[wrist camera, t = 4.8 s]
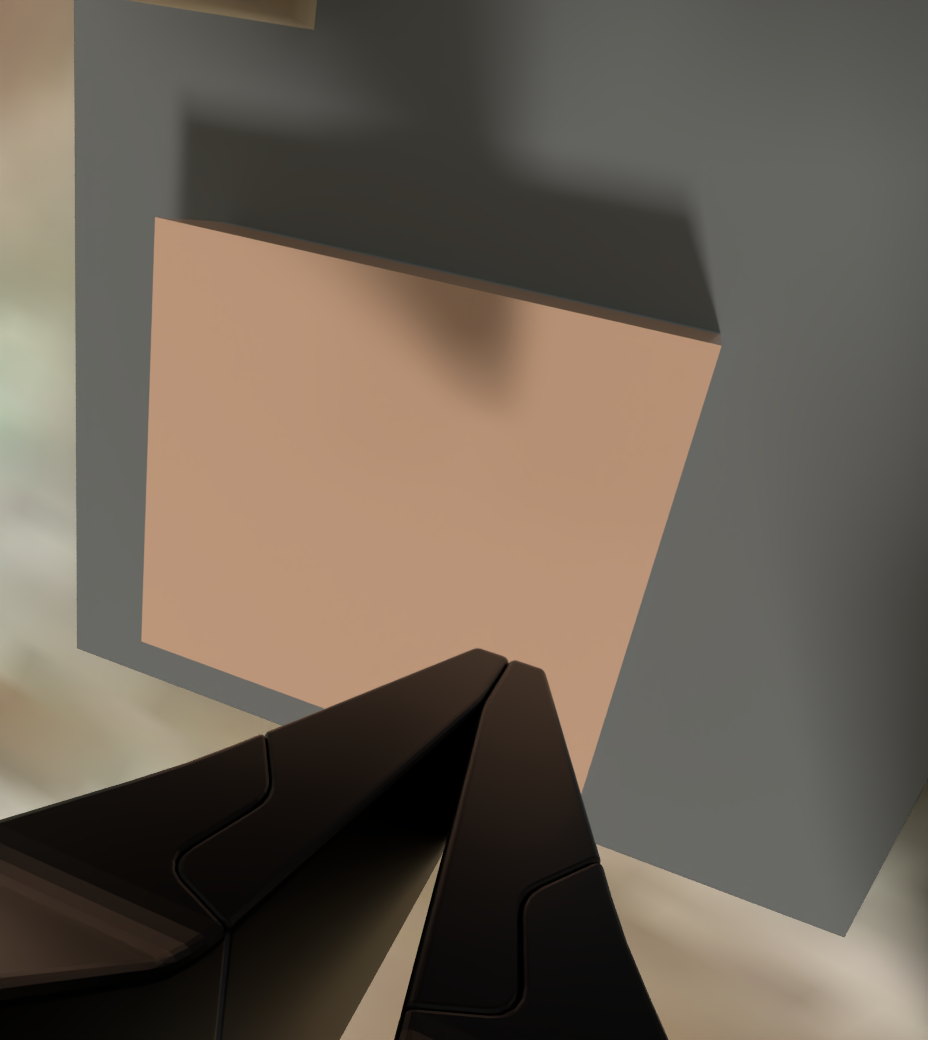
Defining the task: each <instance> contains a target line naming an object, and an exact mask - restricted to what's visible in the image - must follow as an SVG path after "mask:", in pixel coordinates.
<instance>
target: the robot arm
mask: <svg viewBox="0 0 928 1040" xmlns="http://www.w3.org/2000/svg"><path fill="white" fill-rule="evenodd" d="M442 853H443V855H442ZM441 855H442V859H441V862H440V866H439V870H438V874H437V878H436V882H435V885H434V889H433V893H432V897H431V901H430V905H429V908H428V912H427V916H426V920H425V924H424V928H423V931H422V935H421V939H420V943H419V947H418V951H417V954H416V958H415V962H414V966H413V970H412V974H411V977H410V981H409V985H408V989H407V993H406V997H405V1000H404V1004H403V1008H402V1012H401V1017H400V1020H399V1023H398V1027H397V1031H396V1035H395V1039H394V1040H668V1037H667V1035H666V1033H665V1031H664V1028H663V1026H662V1024H661V1022H660V1019H659V1017H658V1015H657V1013H656V1010H655V1008H654V1006H653V1004H652V1001H651V999H650V997H649V995H648V992H647V990H646V987H645V985H644V983H643V980H642V978H641V975H640V973H639V970H638V968H637V966H636V963H635V961H634V958H633V956H632V954H631V951H630V949H629V946H628V944H627V941H626V938H625V935H624V932H623V929H622V926H621V923H620V920H619V918H618V915H617V912H616V909H615V906H614V903H613V900H612V897H611V893H610V890H609V886H608V883H607V880H606V876H605V873H604V869H603V867H602V865H601V864H600V857H599V854H598V850H597V847H596V843H595V840H594V837H593V833H592V830H591V826H590V823H589V820H588V816H587V813H586V809H585V806H584V802H583V799H582V796H581V792H580V789H579V785H578V782H577V779H576V775H575V772H574V768H573V765H572V762H571V758H570V755H569V751H568V748H567V745H566V741H565V738H564V734H563V731H562V728H561V724H560V721H559V717H558V714H557V711H556V707H555V704H554V700H553V697H552V694H551V690H550V687H549V683H548V680H547V677H546V674H545V672H544V670H543V669H541V668H538V667H535V666H532V665H529V664H526V663H523V662H520V661H517V660H513V661H511V662H510V663H509V662H508V659H507V658H506V657H504V656H502V655H499V654H496V653H493V652H490V651H487V650H484V649H481V648H475V649H472V650H469V651H467V652H464V653H462V654H459V655H457V656H454V657H452V658H449V659H447V660H444V661H442V662H439V663H437V664H434V665H432V666H430V667H427V668H425V669H422V670H420V671H417V672H415V673H412V674H410V675H407V676H405V677H402V678H400V679H397V680H395V681H392V682H390V683H387V684H385V685H382V686H380V687H377V688H375V689H372V690H370V691H368V692H365V693H363V694H360V695H358V696H355V697H353V698H350V699H348V700H345V701H343V702H340V703H338V704H335V705H333V706H330V707H328V708H325V709H323V710H320V711H318V712H315V713H313V714H310V715H308V716H306V717H303V718H301V719H298V720H296V721H293V722H291V723H288V724H286V725H283V726H281V727H278V728H276V729H273V730H271V731H268V732H267V733H266V734H265V736H264V735H258V736H255V737H253V738H250V739H248V740H245V741H243V742H240V743H238V744H235V745H233V746H230V747H228V748H225V749H222V750H220V751H217V752H214V753H212V754H209V755H206V756H203V757H201V758H198V759H195V760H193V761H190V762H187V763H185V764H181V765H178V766H175V767H172V768H169V769H166V770H163V771H160V772H157V773H154V774H150V775H147V776H144V777H141V778H138V779H135V780H132V781H129V782H125V783H122V784H119V785H115V786H112V787H109V788H105V789H102V790H98V791H95V792H92V793H88V794H85V795H82V796H78V797H75V798H72V799H68V800H65V801H62V802H58V803H55V804H52V805H48V806H45V807H42V808H38V809H35V810H32V811H28V812H25V813H22V814H18V815H15V816H12V817H8V818H5V819H2V820H0V1040H340V1038H341V1036H342V1034H343V1033H344V1031H345V1029H346V1027H347V1025H348V1024H349V1022H350V1020H351V1018H352V1016H353V1014H354V1013H355V1011H356V1009H357V1007H358V1005H359V1004H360V1002H361V1000H362V998H363V996H364V995H365V993H366V991H367V989H368V987H369V986H370V984H371V982H372V980H373V978H374V977H375V975H376V973H377V971H378V969H379V967H380V966H381V964H382V962H383V960H384V958H385V957H386V955H387V953H388V951H389V949H390V948H391V946H392V944H393V942H394V940H395V939H396V937H397V935H398V933H399V931H400V930H401V928H402V926H403V924H404V922H405V920H406V919H407V917H408V915H409V913H410V911H411V910H412V908H413V906H414V904H415V902H416V901H417V899H418V897H419V895H420V893H421V892H422V890H423V888H424V886H425V884H426V883H427V881H428V879H429V877H430V875H431V873H432V872H433V870H434V868H435V866H436V864H437V863H438V861H439V859H440V857H441Z"/></svg>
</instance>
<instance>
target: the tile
mask: <svg viewBox="0 0 928 1040" xmlns="http://www.w3.org/2000/svg"><path fill="white" fill-rule="evenodd" d="M721 346H722V344H721V334H720V332H715V331H711V330H706V329H702V328H697V327H693V326H688V325H684V324H679V323H675V322H670V321H666V320H661V319H657V318H653V317H648V316H644V315H639V314H635V313H630V312H626V311H621V310H617V309H612V308H608V307H603V306H599V305H594V304H590V303H586V302H581V301H577V300H572V299H568V298H563V297H559V296H554V295H550V294H545V293H541V292H536V291H532V290H527V289H523V288H518V287H514V286H510V285H505V284H501V283H496V282H492V281H487V280H483V279H478V278H474V277H469V276H465V275H460V274H456V273H451V272H447V271H442V270H438V269H434V268H429V267H425V266H420V265H416V264H411V263H407V262H402V261H398V260H393V259H389V258H384V257H380V256H375V255H371V254H367V253H362V252H358V251H353V250H349V249H344V248H340V247H335V246H331V245H326V244H322V243H317V242H313V241H308V240H304V239H299V238H295V237H291V236H286V235H282V234H277V233H273V232H268V231H264V230H259V229H255V228H250V227H246V226H241V225H237V224H232V223H228V222H217V221H203V220H190V219H176V218H163V217H155V234H154V265H153V296H152V327H151V358H150V389H149V420H148V451H147V482H146V513H145V544H144V575H143V606H142V637H141V641H142V642H144V643H147V644H150V645H153V646H155V647H158V648H161V649H164V650H166V651H169V652H172V653H174V654H177V655H180V656H183V657H185V658H188V659H191V660H194V661H196V662H199V663H202V664H204V665H207V666H210V667H213V668H215V669H218V670H221V671H224V672H226V673H229V674H232V675H234V676H237V677H240V678H243V679H245V680H248V681H251V682H254V683H256V684H259V685H262V686H264V687H267V688H270V689H273V690H275V691H278V692H281V693H284V694H286V695H289V696H292V697H294V698H297V699H300V700H303V701H305V702H308V703H311V704H314V705H316V706H319V707H322V708H324V709H325V708H328V707H330V706H333V705H335V704H338V703H340V702H343V701H345V700H348V699H350V698H353V697H355V696H358V695H360V694H363V693H365V692H368V691H370V690H372V689H375V688H377V687H380V686H382V685H385V684H387V683H390V682H392V681H395V680H397V679H400V678H402V677H405V676H407V675H410V674H412V673H415V672H417V671H420V670H422V669H425V668H427V667H430V666H432V665H434V664H437V663H439V662H442V661H444V660H447V659H449V658H452V657H454V656H457V655H459V654H462V653H464V652H467V651H469V650H472V649H475V648H481V649H484V650H487V651H490V652H493V653H496V654H499V655H502V656H504V657H506V658H507V659H508V662H509V663H510V662H511V661H513V660H517V661H520V662H523V663H526V664H529V665H532V666H535V667H538V668H541V669H543V670H544V672H545V674H546V677H547V680H548V683H549V687H550V690H551V694H552V697H553V700H554V704H555V707H556V711H557V714H558V717H559V721H560V724H561V728H562V731H563V734H564V738H565V741H566V745H567V748H568V751H569V755H570V758H571V762H572V765H573V768H574V772H575V775H576V779H577V782H578V785H579V789H580V792H581V794H582V790H583V787H584V784H585V781H586V778H587V774H588V771H589V768H590V765H591V762H592V758H593V755H594V752H595V749H596V746H597V742H598V739H599V736H600V733H601V730H602V726H603V723H604V720H605V717H606V714H607V710H608V707H609V704H610V701H611V698H612V694H613V691H614V688H615V685H616V682H617V679H618V675H619V672H620V669H621V666H622V663H623V659H624V656H625V653H626V650H627V647H628V643H629V640H630V637H631V634H632V631H633V627H634V624H635V621H636V618H637V615H638V611H639V608H640V605H641V602H642V599H643V595H644V592H645V589H646V586H647V583H648V579H649V576H650V573H651V570H652V567H653V563H654V560H655V557H656V554H657V551H658V548H659V544H660V541H661V538H662V535H663V532H664V528H665V525H666V522H667V519H668V516H669V512H670V509H671V506H672V503H673V500H674V496H675V493H676V490H677V487H678V484H679V480H680V477H681V474H682V471H683V468H684V464H685V461H686V458H687V455H688V452H689V448H690V445H691V442H692V439H693V436H694V433H695V429H696V426H697V423H698V420H699V417H700V413H701V410H702V407H703V404H704V401H705V397H706V394H707V391H708V388H709V385H710V381H711V378H712V375H713V372H714V369H715V365H716V362H717V359H718V356H719V353H720V349H721Z"/></svg>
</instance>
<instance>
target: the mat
mask: <svg viewBox="0 0 928 1040" xmlns="http://www.w3.org/2000/svg"><path fill="white" fill-rule="evenodd" d="M74 83H75V296H76V508H77V648H78V649H81V650H83V651H86V652H88V653H91V654H94V655H96V656H99V657H102V658H104V659H107V660H110V661H112V662H115V663H118V664H120V665H123V666H126V667H128V668H131V669H134V670H136V671H139V672H142V673H144V674H147V675H150V676H152V677H155V678H157V679H160V680H163V681H165V682H168V683H171V684H173V685H176V686H179V687H181V688H184V689H187V690H189V691H192V692H195V693H197V694H200V695H203V696H205V697H208V698H211V699H213V700H216V701H218V702H221V703H224V704H226V705H229V706H232V707H234V708H237V709H240V710H242V711H245V712H248V713H250V714H253V715H256V716H258V717H261V718H264V719H266V720H269V721H272V722H274V723H277V724H280V725H282V726H283V725H286V724H288V723H291V722H293V721H296V720H298V719H301V718H303V717H306V716H308V715H310V714H313V713H315V712H318V711H320V710H323V709H324V708H322V707H319V706H316V705H314V704H311V703H308V702H305V701H303V700H300V699H297V698H294V697H292V696H289V695H286V694H284V693H281V692H278V691H275V690H273V689H270V688H267V687H264V686H262V685H259V684H256V683H254V682H251V681H248V680H245V679H243V678H240V677H237V676H234V675H232V674H229V673H226V672H224V671H221V670H218V669H215V668H213V667H210V666H207V665H204V664H202V663H199V662H196V661H194V660H191V659H188V658H185V657H183V656H180V655H177V654H174V653H172V652H169V651H166V650H164V649H161V648H158V647H155V646H153V645H150V644H147V643H144V642H142V641H141V637H142V606H143V575H144V544H145V513H146V482H147V451H148V420H149V389H150V358H151V327H152V296H153V265H154V234H155V217H163V218H176V219H190V220H203V221H217V222H228V223H232V224H237V225H241V226H246V227H250V228H255V229H259V230H264V231H268V232H273V233H277V234H282V235H286V236H291V237H295V238H299V239H304V240H308V241H313V242H317V243H322V244H326V245H331V246H335V247H340V248H344V249H349V250H353V251H358V252H362V253H367V254H371V255H375V256H380V257H384V258H389V259H393V260H398V261H402V262H407V263H411V264H416V265H420V266H425V267H429V268H434V269H438V270H442V271H447V272H451V273H456V274H460V275H465V276H469V277H474V278H478V279H483V280H487V281H492V282H496V283H501V284H505V285H510V286H514V287H518V288H523V289H527V290H532V291H536V292H541V293H545V294H550V295H554V296H559V297H563V298H568V299H572V300H577V301H581V302H586V303H590V304H594V305H599V306H603V307H608V308H612V309H617V310H621V311H626V312H630V313H635V314H639V315H644V316H648V317H653V318H657V319H661V320H666V321H670V322H675V323H679V324H684V325H688V326H693V327H697V328H702V329H706V330H711V331H715V332H720V334H721V344H722V346H721V349H720V353H719V356H718V359H717V362H716V365H715V369H714V372H713V375H712V378H711V381H710V385H709V388H708V391H707V394H706V397H705V401H704V404H703V407H702V410H701V413H700V417H699V420H698V423H697V426H696V429H695V433H694V436H693V439H692V442H691V445H690V448H689V452H688V455H687V458H686V461H685V464H684V468H683V471H682V474H681V477H680V480H679V484H678V487H677V490H676V493H675V496H674V500H673V503H672V506H671V509H670V512H669V516H668V519H667V522H666V525H665V528H664V532H663V535H662V538H661V541H660V544H659V548H658V551H657V554H656V557H655V560H654V563H653V567H652V570H651V573H650V576H649V579H648V583H647V586H646V589H645V592H644V595H643V599H642V602H641V605H640V608H639V611H638V615H637V618H636V621H635V624H634V627H633V631H632V634H631V637H630V640H629V643H628V647H627V650H626V653H625V656H624V659H623V663H622V666H621V669H620V672H619V675H618V679H617V682H616V685H615V688H614V691H613V694H612V698H611V701H610V704H609V707H608V710H607V714H606V717H605V720H604V723H603V726H602V730H601V733H600V736H599V739H598V742H597V746H596V749H595V752H594V755H593V758H592V762H591V765H590V768H589V771H588V774H587V778H586V781H585V784H584V787H583V790H582V794H581V796H582V799H583V802H584V806H585V809H586V813H587V816H588V820H589V823H590V826H591V830H592V833H593V837H594V840H595V843H596V844H598V845H601V846H603V847H606V848H608V849H611V850H614V851H616V852H619V853H622V854H624V855H627V856H630V857H632V858H635V859H638V860H640V861H643V862H646V863H648V864H651V865H654V866H656V867H659V868H662V869H664V870H667V871H670V872H672V873H675V874H677V875H680V876H683V877H685V878H688V879H691V880H693V881H696V882H699V883H701V884H704V885H707V886H709V887H712V888H715V889H717V890H720V891H723V892H725V893H728V894H731V895H733V896H736V897H738V898H741V899H744V900H746V901H749V902H752V903H754V904H757V905H760V906H762V907H765V908H768V909H770V910H773V911H776V912H778V913H781V914H784V915H786V916H789V917H792V918H794V919H797V920H800V921H802V922H805V923H807V924H810V925H813V926H815V927H818V928H821V929H823V930H826V931H829V932H831V933H834V934H837V935H839V936H842V937H845V935H846V933H847V931H848V930H849V928H850V926H851V924H852V922H853V920H854V918H855V916H856V914H857V912H858V911H859V909H860V907H861V905H862V903H863V901H864V899H865V897H866V895H867V894H868V892H869V890H870V888H871V886H872V884H873V882H874V880H875V878H876V876H877V875H878V873H879V871H880V869H881V867H882V865H883V863H884V861H885V859H886V857H887V856H888V854H889V852H890V850H891V848H892V846H893V844H894V842H895V840H896V838H897V837H898V835H899V833H900V831H901V829H902V827H903V825H904V823H905V821H906V819H907V818H908V816H909V814H910V812H911V810H912V808H913V806H914V804H915V802H916V800H917V799H918V797H919V795H920V793H921V791H922V789H923V787H924V785H925V783H926V781H927V780H928V0H317V4H316V15H315V25H314V30H312V29H305V28H299V27H293V26H286V25H280V24H274V23H267V22H261V21H255V20H248V19H242V18H236V17H230V16H223V15H217V14H211V13H204V12H198V11H192V10H185V9H179V8H173V7H166V6H160V5H154V4H147V3H141V2H135V1H128V0H74Z"/></svg>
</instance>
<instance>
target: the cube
mask: <svg viewBox="0 0 928 1040" xmlns="http://www.w3.org/2000/svg"><path fill="white" fill-rule="evenodd" d="M128 1H135V2H141V3H147V4H154V5H160V6H166V7H173V8H179V9H185V10H192V11H198V12H204V13H211V14H217V15H223V16H230V17H236V18H242V19H248V20H255V21H261V22H267V23H274V24H280V25H286V26H293V27H299V28H305V29H312V30H314V25H315V15H316V4H317V0H128Z"/></svg>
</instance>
